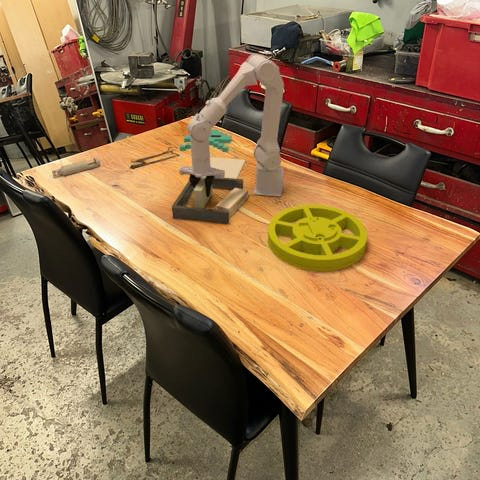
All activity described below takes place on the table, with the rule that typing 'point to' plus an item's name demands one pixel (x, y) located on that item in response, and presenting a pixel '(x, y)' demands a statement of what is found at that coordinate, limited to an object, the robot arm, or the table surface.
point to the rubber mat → (228, 166)
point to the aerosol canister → (76, 167)
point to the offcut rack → (202, 213)
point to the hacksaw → (152, 157)
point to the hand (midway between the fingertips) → (203, 195)
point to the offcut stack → (233, 201)
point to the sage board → (201, 194)
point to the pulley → (317, 237)
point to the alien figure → (211, 140)
